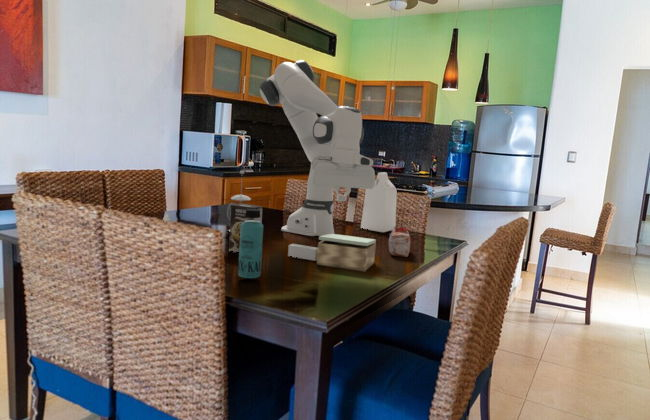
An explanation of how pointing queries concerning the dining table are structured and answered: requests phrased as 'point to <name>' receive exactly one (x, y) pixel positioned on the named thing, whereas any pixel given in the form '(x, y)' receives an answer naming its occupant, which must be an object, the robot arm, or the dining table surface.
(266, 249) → the dining table surface
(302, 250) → the white rectangular block
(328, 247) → the box
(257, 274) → the beverage bottle
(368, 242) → the lid
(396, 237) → the food item
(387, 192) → the milk
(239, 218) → the coffee box
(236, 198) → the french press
